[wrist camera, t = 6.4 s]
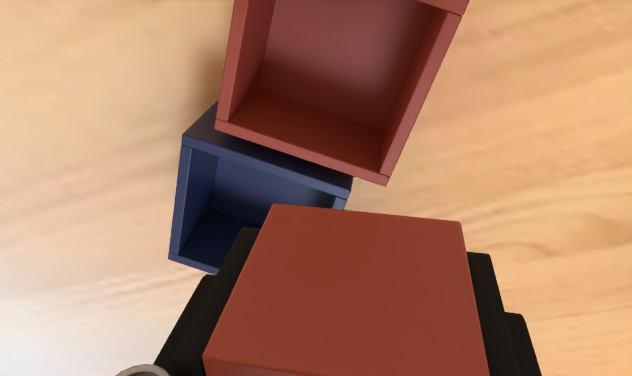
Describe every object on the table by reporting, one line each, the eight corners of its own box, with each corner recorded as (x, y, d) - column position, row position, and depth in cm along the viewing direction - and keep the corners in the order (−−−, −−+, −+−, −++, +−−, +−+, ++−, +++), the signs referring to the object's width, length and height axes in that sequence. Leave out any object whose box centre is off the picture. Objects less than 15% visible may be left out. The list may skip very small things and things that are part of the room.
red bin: (281, -77, 20) (246, -76, 16) (455, -18, 20) (470, -1, 16) (248, 91, 25) (213, 129, 21) (389, 139, 25) (385, 187, 21)
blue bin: (221, 95, 26) (182, 133, 21) (360, 142, 26) (350, 190, 21) (203, 208, 30) (167, 259, 26) (320, 247, 30) (305, 305, 26)
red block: (272, 201, 10) (199, 355, 7) (461, 219, 10) (496, 403, 6) (279, 326, 13) (229, 491, 9) (432, 347, 12) (446, 536, 8)
